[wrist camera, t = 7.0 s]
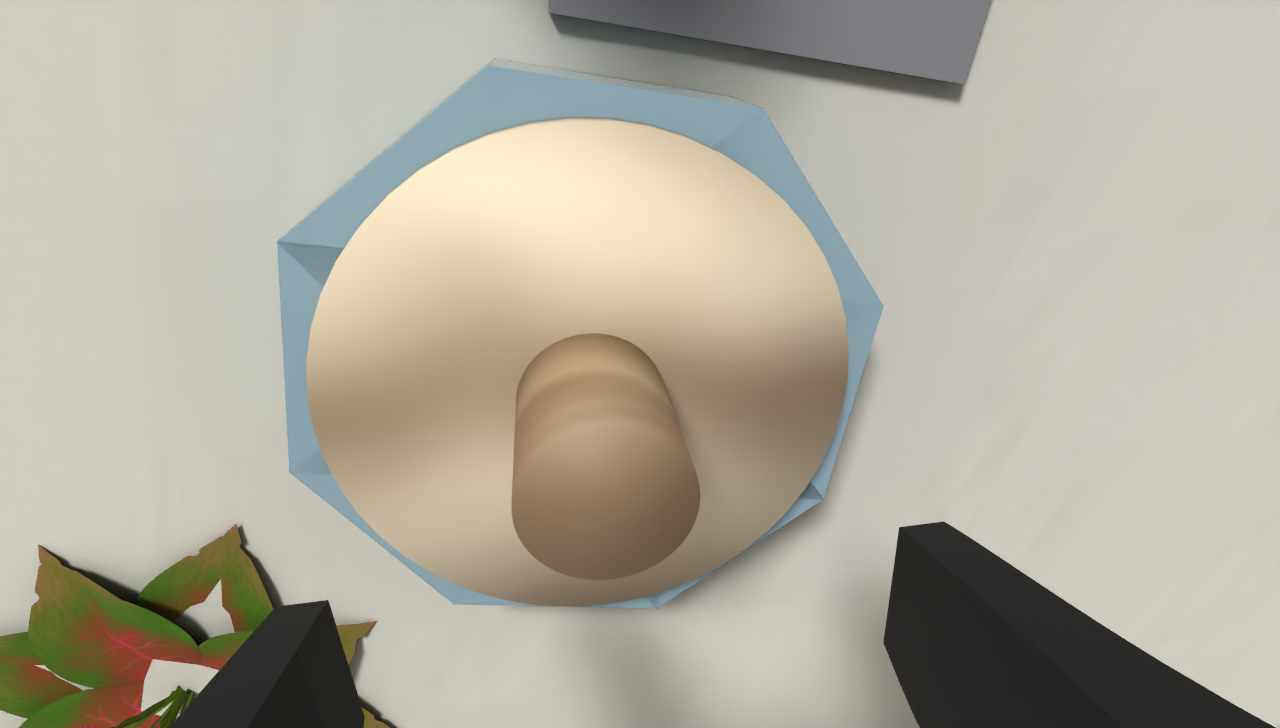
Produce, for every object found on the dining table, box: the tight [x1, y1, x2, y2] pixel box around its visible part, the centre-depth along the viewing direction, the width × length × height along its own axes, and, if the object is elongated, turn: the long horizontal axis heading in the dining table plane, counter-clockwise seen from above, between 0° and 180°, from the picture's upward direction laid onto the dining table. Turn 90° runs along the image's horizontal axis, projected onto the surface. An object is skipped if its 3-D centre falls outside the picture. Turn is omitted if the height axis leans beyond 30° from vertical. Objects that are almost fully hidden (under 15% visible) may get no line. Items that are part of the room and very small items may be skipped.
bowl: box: [277, 59, 884, 608], centre depth 16 cm, size 12×12×2 cm
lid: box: [306, 117, 849, 607], centre depth 13 cm, size 11×11×4 cm
